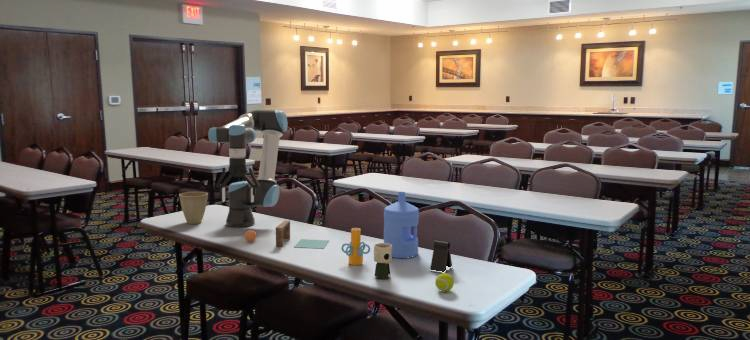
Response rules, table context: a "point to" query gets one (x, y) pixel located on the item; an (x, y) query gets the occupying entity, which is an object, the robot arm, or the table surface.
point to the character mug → (382, 259)
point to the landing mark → (311, 244)
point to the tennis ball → (444, 282)
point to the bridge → (282, 233)
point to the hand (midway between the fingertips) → (238, 201)
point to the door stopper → (441, 256)
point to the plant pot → (193, 206)
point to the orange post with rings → (355, 247)
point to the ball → (250, 235)
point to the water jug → (401, 227)
